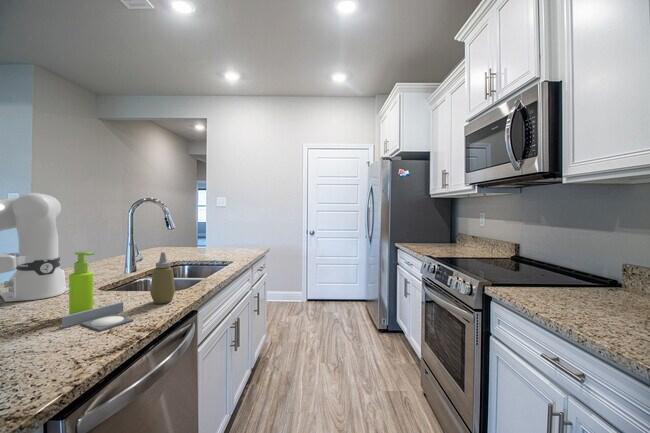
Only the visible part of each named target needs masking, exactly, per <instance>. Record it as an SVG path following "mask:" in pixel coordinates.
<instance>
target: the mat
mask: <svg viewBox="0 0 650 433" xmlns="http://www.w3.org/2000/svg"><path fill="white" fill-rule="evenodd" d="M131 322H134V319H133V318H129V317H126V316H123V315H119V314H118V313H116V314H112V315H108V316H105V317H101V318H97V319H94V320H90V321H86V322H83V323H80V325H81V326H84V327H87V328H89V329H92V330H95V331H97V332H103V331H105V330H108V329H112V328H115V327H119V326H122V325H124V324H125V325H126V324H128V323H131Z"/></svg>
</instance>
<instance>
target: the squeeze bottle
mask: <svg viewBox="0 0 650 433" xmlns="http://www.w3.org/2000/svg"><path fill="white" fill-rule="evenodd" d="M175 292H176V286H175V277H174V269H173V267H171V262H170V261H168V258H167V256H166V252H164V251H163V252H161V253H160V257H159V260H158V262H155V268H154V269H153V270H152V275H151V284H150V292H149V293H150V296H151V299H152V301H153V303H154V304H158V305H159V304H168V303H170V302H171V301H173V298H174V296H175Z"/></svg>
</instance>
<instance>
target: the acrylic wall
mask: <svg viewBox="0 0 650 433" xmlns="http://www.w3.org/2000/svg"><path fill="white" fill-rule="evenodd" d="M123 312H124V302H123V301H120V302H115V303H111V304H107V305H103V306H98V307H95V308H94V307H93V309H90V310H86V311H82V312H78V313H74V314H70V315H69V314H67V315H63V316H61V328H63V329H65V328H69V327H71V326H75V325H76V326H77V325H79V324H80V325H81V323H83V322H86V321H90V320H94V319H97V318H101V317H105V316H108V315H112V314H119V313H123Z"/></svg>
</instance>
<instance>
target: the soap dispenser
mask: <svg viewBox="0 0 650 433" xmlns="http://www.w3.org/2000/svg"><path fill="white" fill-rule="evenodd" d="M74 255H77V261H76V262H73V264H74V267H73V269H74V271H73V273H69V275H68V287H69V290H68V297H69V298H68V301H69V302H68V312H69V313H68V315H70V314H74V313H78V312H82V311H86V310H90V309H94V272H93V271H89V262H88V261H86V260H85V259H86V257H85V256H93V255H95V253H94V252H92V251H78V252H74Z"/></svg>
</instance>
